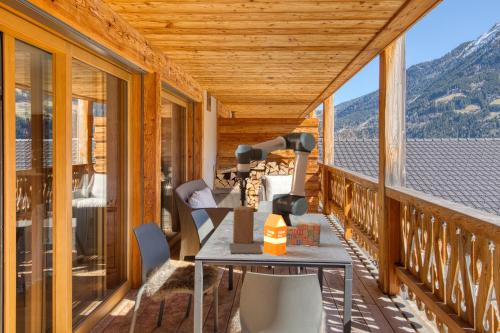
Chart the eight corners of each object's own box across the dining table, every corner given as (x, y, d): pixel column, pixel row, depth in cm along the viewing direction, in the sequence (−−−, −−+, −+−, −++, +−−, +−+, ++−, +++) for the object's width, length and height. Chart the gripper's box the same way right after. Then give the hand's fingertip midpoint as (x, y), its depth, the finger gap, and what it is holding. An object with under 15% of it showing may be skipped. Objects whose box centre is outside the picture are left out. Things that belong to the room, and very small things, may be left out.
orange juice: (274, 250, 234) (275, 212, 233) (286, 253, 227) (287, 215, 226) (263, 252, 229) (264, 214, 227) (275, 255, 222) (276, 216, 221)
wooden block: (250, 245, 244) (250, 209, 243) (232, 243, 246) (233, 208, 245) (253, 241, 253) (254, 206, 252) (236, 240, 255) (237, 206, 254)
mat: (258, 244, 244) (258, 243, 244) (261, 254, 224) (262, 252, 224) (229, 244, 243) (229, 243, 243) (230, 254, 223) (230, 252, 223)
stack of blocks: (280, 244, 248) (281, 222, 248) (283, 241, 254) (283, 220, 254) (318, 247, 242) (319, 225, 242) (320, 245, 248) (320, 223, 248)
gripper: (236, 170, 263) (235, 209, 264) (237, 171, 250) (236, 212, 251) (249, 170, 263) (248, 209, 264) (250, 171, 250) (249, 212, 251)
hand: (242, 211), depth 258 cm, fingers closed
